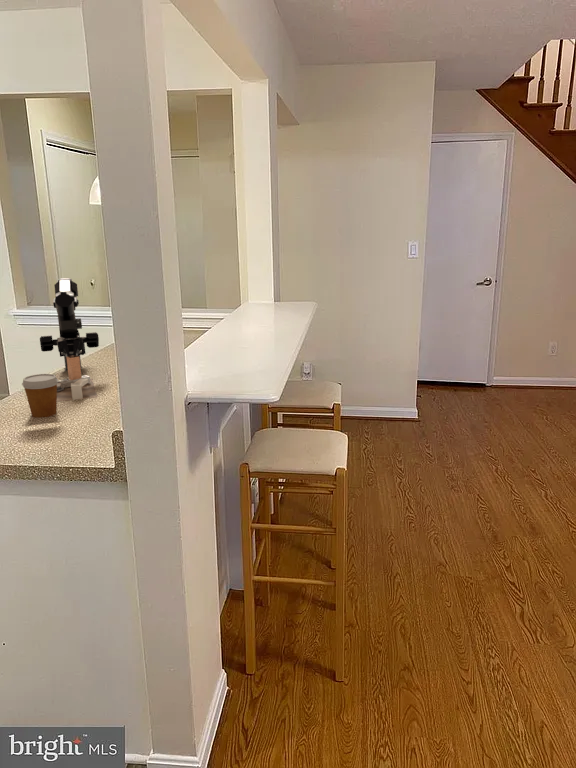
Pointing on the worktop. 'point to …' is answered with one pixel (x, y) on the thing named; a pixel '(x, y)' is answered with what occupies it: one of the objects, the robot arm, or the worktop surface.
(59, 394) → the walnut board
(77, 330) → the robot arm
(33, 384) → the disposable coffee cup
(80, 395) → the block
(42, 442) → the worktop surface
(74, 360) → the lever link
